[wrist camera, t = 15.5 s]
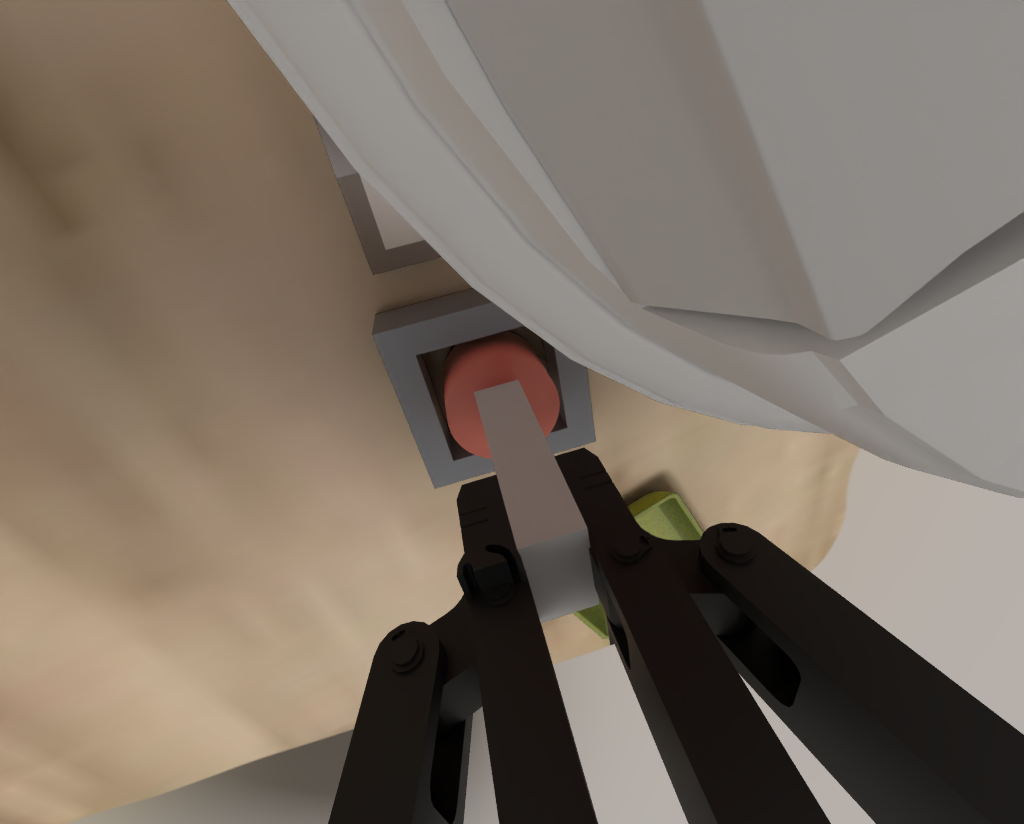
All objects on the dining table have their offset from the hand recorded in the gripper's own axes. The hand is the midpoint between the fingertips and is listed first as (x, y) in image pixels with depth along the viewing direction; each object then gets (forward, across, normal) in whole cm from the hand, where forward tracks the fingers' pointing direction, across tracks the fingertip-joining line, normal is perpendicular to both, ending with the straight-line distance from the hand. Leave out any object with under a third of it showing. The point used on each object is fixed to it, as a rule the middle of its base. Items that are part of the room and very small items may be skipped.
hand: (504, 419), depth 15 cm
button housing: (+4, 0, 0) cm, 4 cm away
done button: (+3, 0, 0) cm, 3 cm away
